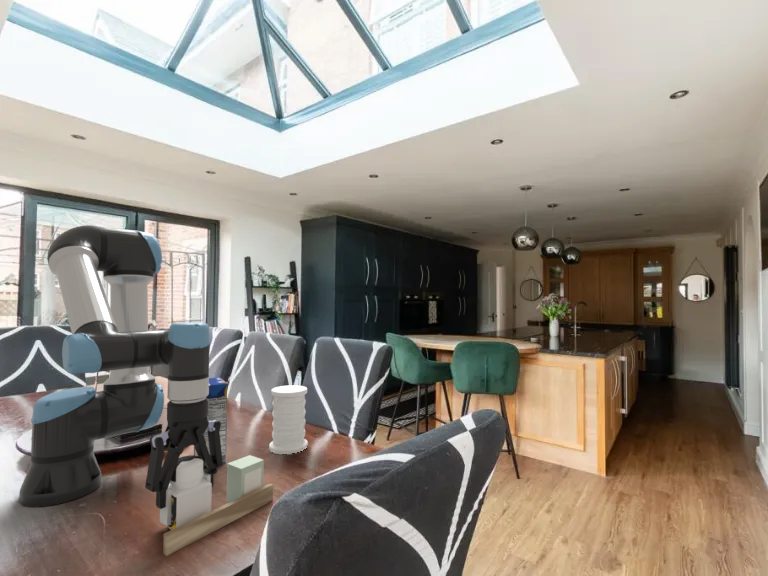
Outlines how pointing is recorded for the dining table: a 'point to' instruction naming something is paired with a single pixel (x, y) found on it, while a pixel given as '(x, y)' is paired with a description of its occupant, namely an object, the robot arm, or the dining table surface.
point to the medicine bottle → (189, 491)
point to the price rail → (215, 519)
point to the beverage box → (217, 411)
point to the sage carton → (244, 476)
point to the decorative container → (288, 419)
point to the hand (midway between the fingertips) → (185, 513)
